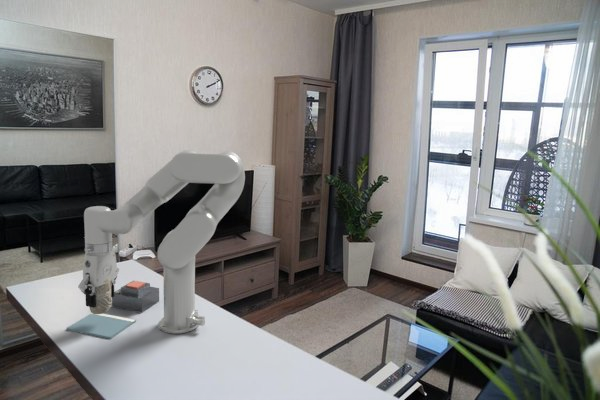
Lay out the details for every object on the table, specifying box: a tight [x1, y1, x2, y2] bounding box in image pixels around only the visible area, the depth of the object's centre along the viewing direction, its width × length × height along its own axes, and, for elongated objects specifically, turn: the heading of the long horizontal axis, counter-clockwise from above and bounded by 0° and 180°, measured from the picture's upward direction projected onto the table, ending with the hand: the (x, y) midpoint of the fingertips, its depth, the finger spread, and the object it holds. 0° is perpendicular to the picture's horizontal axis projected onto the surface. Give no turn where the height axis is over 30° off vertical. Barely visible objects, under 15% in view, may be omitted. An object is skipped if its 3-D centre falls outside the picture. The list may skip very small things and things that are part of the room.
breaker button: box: [125, 280, 146, 289], centre depth 151 cm, size 5×5×2 cm
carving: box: [89, 278, 112, 314], centre depth 134 cm, size 6×8×12 cm
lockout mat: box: [66, 312, 137, 340], centre depth 136 cm, size 16×12×1 cm
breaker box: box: [111, 280, 160, 314], centre depth 151 cm, size 12×10×7 cm
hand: (100, 300), depth 134 cm, fingers closed on carving, 7 cm apart
